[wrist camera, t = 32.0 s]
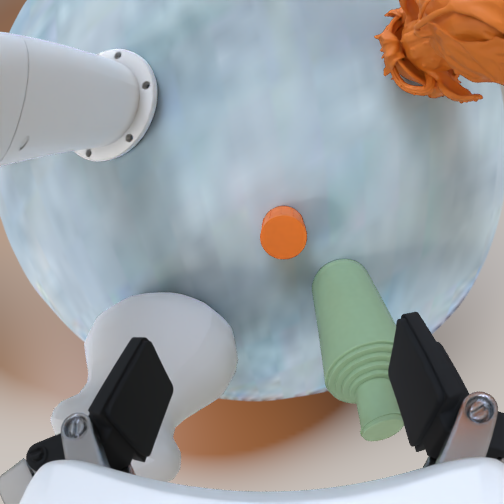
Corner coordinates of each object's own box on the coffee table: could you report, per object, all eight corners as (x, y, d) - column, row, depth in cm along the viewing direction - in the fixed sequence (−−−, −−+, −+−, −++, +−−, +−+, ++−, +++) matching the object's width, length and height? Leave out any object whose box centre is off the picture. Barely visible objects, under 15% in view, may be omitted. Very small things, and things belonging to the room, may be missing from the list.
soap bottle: (245, 280, 30) (161, 601, 3) (245, 359, 34) (200, 589, 7) (109, 270, 31) (-53, 451, 4) (128, 342, 36) (28, 513, 9)
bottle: (313, 314, 31) (329, 460, 14) (309, 262, 28) (332, 411, 12) (368, 306, 30) (418, 441, 13) (369, 255, 27) (445, 386, 11)
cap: (309, 237, 27) (313, 250, 24) (271, 250, 28) (270, 265, 25) (295, 199, 26) (297, 208, 23) (256, 214, 27) (252, 225, 24)
